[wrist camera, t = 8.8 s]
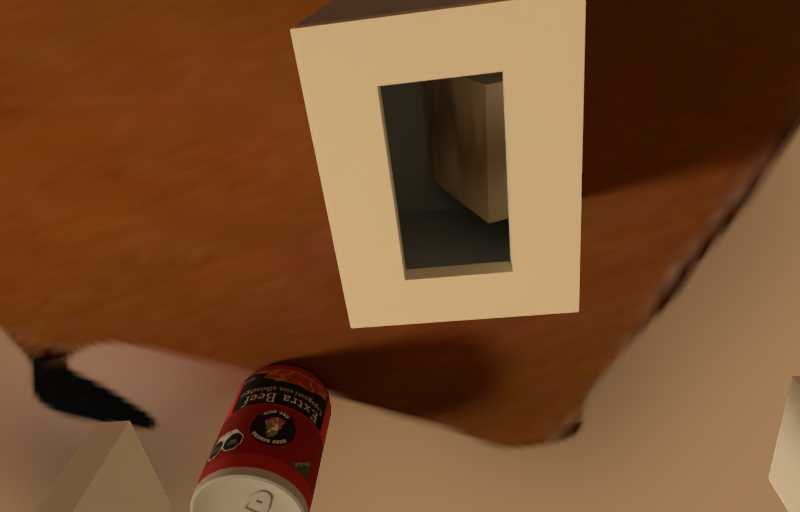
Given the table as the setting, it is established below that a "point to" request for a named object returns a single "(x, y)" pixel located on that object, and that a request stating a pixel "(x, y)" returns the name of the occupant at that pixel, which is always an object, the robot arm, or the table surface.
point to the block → (470, 141)
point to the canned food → (267, 445)
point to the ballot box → (412, 160)
